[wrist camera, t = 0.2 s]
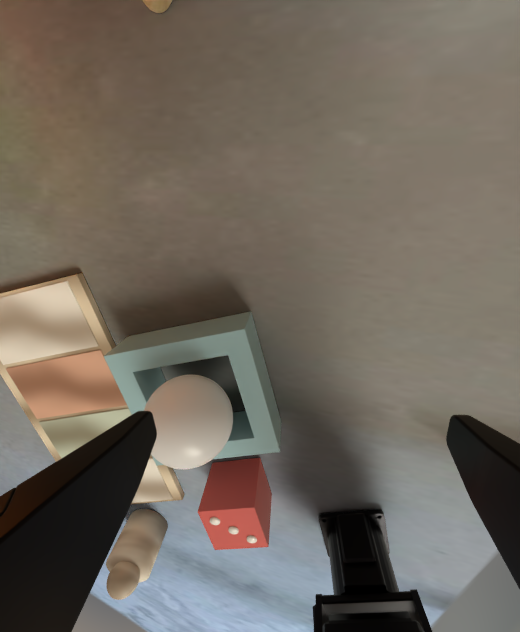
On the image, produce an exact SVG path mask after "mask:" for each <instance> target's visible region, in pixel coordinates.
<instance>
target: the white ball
mask: <svg viewBox="0 0 520 632" xmlns="http://www.w3.org/2000/svg"><path fill="white" fill-rule="evenodd" d="M144 411H150V412H152V414H153V417H154V422H155V426H156V430H157V437H156V441H155V444H154V446H153V449H152V452H151V455H152V456H153V457H154V458H155V459H156V460H157V461H159V462H160V463H162V464H163V465H166V466H168V467H171V468H175V469H192V468H196V467H199V466H202V465H204V464H206V463H207V462H209V461H211V460H212V459H213V458H214V457H216V456H217V455H218V454H219V453H220V451H221V450H222V449H223V448H224V446H225V445H226V443H227V441H228V439H229V436H230V434H231V430H232V425H233V410H232V406H231V402H230V400H229V398H228V396H227V394H226V392H225V391H224V390H223V389H222V388H221V387H220V386H219V385H218V384H217V383H216V382H214V381H213V380H211V379H209V378H207V377H204V376H200V375H191V374H188V375H182V376H178V377H175V378H172V379H170V380H168V381H167V382H165V383H163V384H162V385H161V386H160V387H158V388H157V389H156V390H155V392H154V393H153V394H152V395H151V397H150V398H149V400H148V401H147V403H146V406H145V408H144Z"/></svg>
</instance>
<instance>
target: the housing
mask: <svg viewBox="0 0 520 632" xmlns="http://www.w3.org/2000/svg"><path fill="white" fill-rule="evenodd" d="M226 355H228V356H229V360H230V363H231V366H232V369H233V372H234V375H235V378H236V382H237V385H238V388H239V391H240V394H241V397H242V400H243V404H244V407H245V410H246V411H241V412H234V413H233V425H232V430H231V434H230V436H229V439H228V441H227V443H226V445H225V446H224V448H223V449H222V450H221V451H220V453H219V454H218V455H217V456H216V457H214V458H213V459H221V458H230V457H239V456H248V455H257V454H266V453H274V452H280V440H281V419H280V415H279V411H278V408H277V404H276V400H275V397H274V393H273V389H272V386H271V382H270V378H269V375H268V371H267V367H266V364H265V360H264V356H263V353H262V349H261V345H260V342H259V338H258V334H257V331H256V327H255V323H254V320H253V316H252V312H251V311H250V312H245V313H241V314H236V315H231V316H226V317H221V318H216V319H211V320H206V321H201V322H196V323H191V324H186V325H181V326H176V327H171V328H167V329H162V330H157V331H152V332H147V333H142V334H137V335H132V336H128V337H127V338H125V339H124V340H123V341H122V342H120V343H119V344H118V345H117V346H116V347H114V348H113V349H112V350H111V351H109V352H108V353H107V354H106V355H104V358H105V360H106V362H107V364H108V367H109V369H110V371H111V373H112V375H113V377H114V379H115V381H116V383H117V385H118V387H119V389H120V391H121V393H122V395H123V397H124V400H125V402H126V404H127V406H128V408H129V410H130V412H131V414H134V413H136V412H137V411H144V408H145V406H146V403H147V401H148V400H149V398H150V397H151V395H152V394H153V393H154V392H155V390H156V389H157V388H158V387H160V386H161V385H162V384H163V383H165V382H166V380H165V377H164V375H163V373H162V370H161V368H160V367H164V366H169V365H175V364H181V363H186V362H192V361H197V360H203V359H209V358H214V357H220V356H226ZM152 457H153V456H152ZM153 459H154V461H155V463H156V466H158V465H163V464H162V463H160V462H159V461H157V460H156V459H155V458H154V457H153Z"/></svg>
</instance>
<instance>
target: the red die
mask: <svg viewBox="0 0 520 632" xmlns="http://www.w3.org/2000/svg"><path fill="white" fill-rule="evenodd" d="M271 496H272V493H271V490H270V487H269V484H268V481H267V477H266V474H265V471H264V468H263V465H262V462H261V459H260V458H251V459H242V460H233V461H224V462H215V463H212V466H211V469H210V473H209V476H208V479H207V483H206V486H205V489H204V493H203V496H202V499H201V503H200V506H199V509H198V514H199V516H200V518H201V520H202V522H203V525H204V527H205V529H206V531H207V533H208V536H209V538H210V540H211V542H212V544H213V547H214V549H215V550H220V549H239V548H258V547H268V545H269V529H270V513H271Z"/></svg>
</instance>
